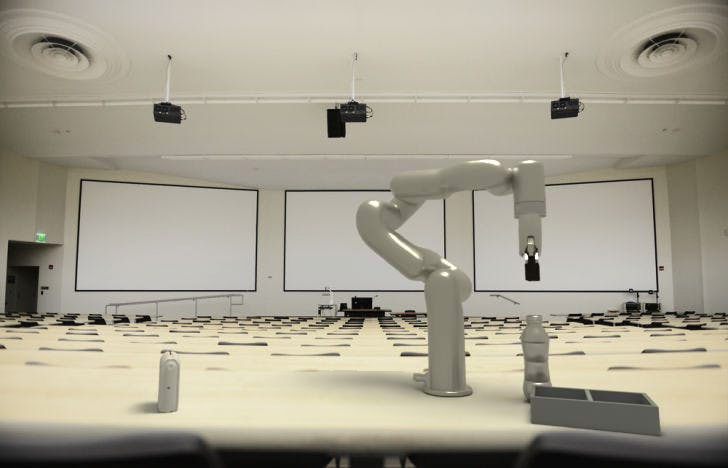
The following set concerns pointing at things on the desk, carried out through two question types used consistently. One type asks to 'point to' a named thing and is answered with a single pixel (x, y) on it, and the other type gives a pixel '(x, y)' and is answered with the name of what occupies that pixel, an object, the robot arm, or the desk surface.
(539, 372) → the plastic bottle
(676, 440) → the desk surface
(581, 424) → the grey divided tray
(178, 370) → the grey rounded block
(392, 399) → the desk surface
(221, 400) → the desk surface
